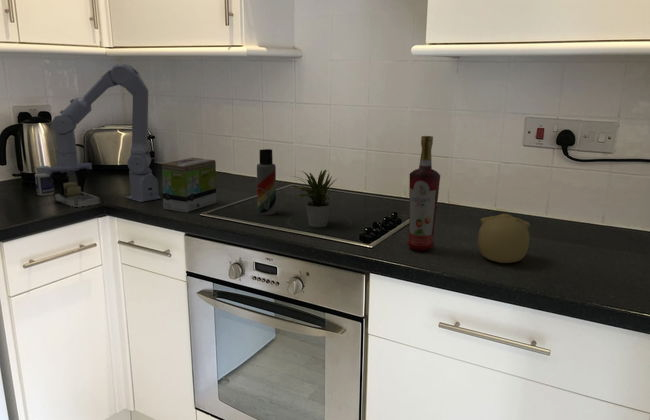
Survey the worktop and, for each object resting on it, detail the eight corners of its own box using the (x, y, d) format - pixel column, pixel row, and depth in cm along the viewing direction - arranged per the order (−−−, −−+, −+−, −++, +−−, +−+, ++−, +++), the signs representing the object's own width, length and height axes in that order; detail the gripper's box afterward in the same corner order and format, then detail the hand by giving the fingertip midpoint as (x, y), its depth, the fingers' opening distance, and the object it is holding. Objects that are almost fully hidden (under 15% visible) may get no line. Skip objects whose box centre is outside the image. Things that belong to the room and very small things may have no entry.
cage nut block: (81, 199, 177) (80, 183, 175) (68, 201, 173) (66, 185, 172) (75, 197, 180) (74, 181, 178) (62, 199, 176) (60, 183, 175)
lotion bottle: (259, 215, 160) (257, 150, 155) (256, 211, 165) (255, 147, 160) (277, 214, 162) (276, 149, 156) (274, 210, 167) (273, 147, 162)
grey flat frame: (100, 203, 172) (99, 197, 172) (75, 208, 166) (75, 201, 166) (79, 196, 182) (78, 190, 181) (55, 200, 176) (54, 194, 175)
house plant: (298, 215, 161) (298, 162, 157) (343, 218, 159) (345, 164, 154) (287, 228, 147) (287, 171, 143) (336, 232, 145) (337, 173, 141)
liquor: (438, 246, 134) (445, 135, 127) (431, 255, 127) (439, 139, 120) (409, 242, 137) (415, 134, 130) (402, 251, 130) (408, 137, 123)
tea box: (188, 213, 162) (185, 165, 158) (162, 209, 166) (159, 163, 162) (217, 202, 175) (216, 158, 172) (193, 199, 179) (191, 156, 176)
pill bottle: (57, 192, 186) (54, 165, 184) (48, 196, 181) (45, 168, 179) (43, 192, 187) (39, 165, 184) (33, 195, 182) (30, 167, 179)
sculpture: (526, 253, 129) (531, 211, 127) (527, 270, 118) (533, 224, 116) (477, 248, 133) (481, 207, 130) (474, 264, 122) (478, 219, 119)
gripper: (83, 148, 180) (87, 187, 184) (38, 153, 170) (43, 194, 173) (93, 151, 176) (97, 190, 179) (47, 155, 165) (53, 198, 169)
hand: (71, 192), depth 176 cm, fingers open, 6 cm apart
